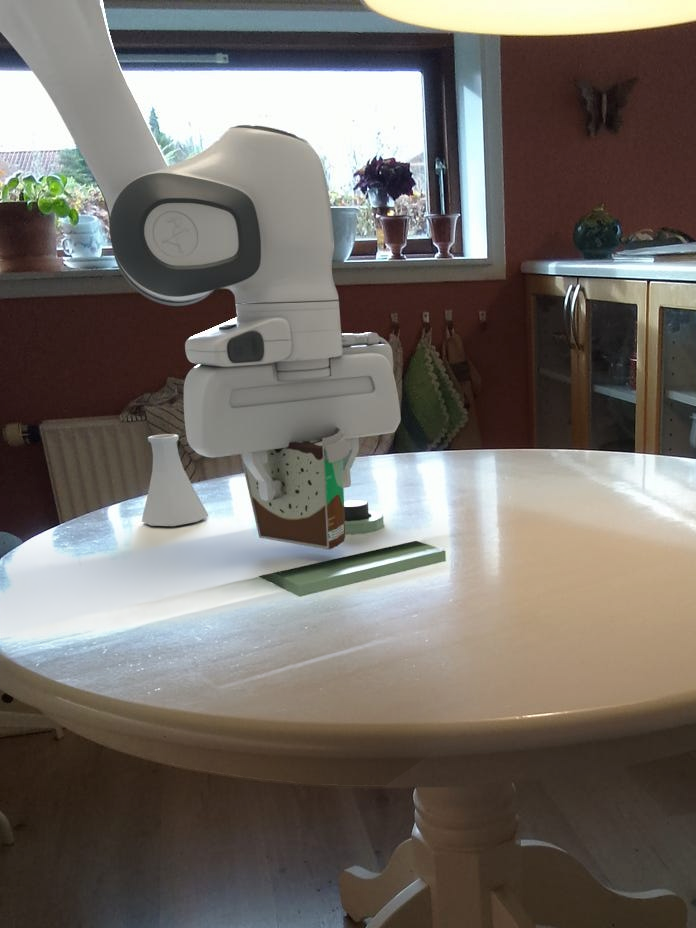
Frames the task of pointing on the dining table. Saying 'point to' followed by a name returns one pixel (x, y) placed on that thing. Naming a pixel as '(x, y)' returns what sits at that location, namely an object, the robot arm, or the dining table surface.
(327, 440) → the food container
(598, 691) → the dining table surface
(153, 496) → the flask
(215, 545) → the dining table surface
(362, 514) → the tare button
